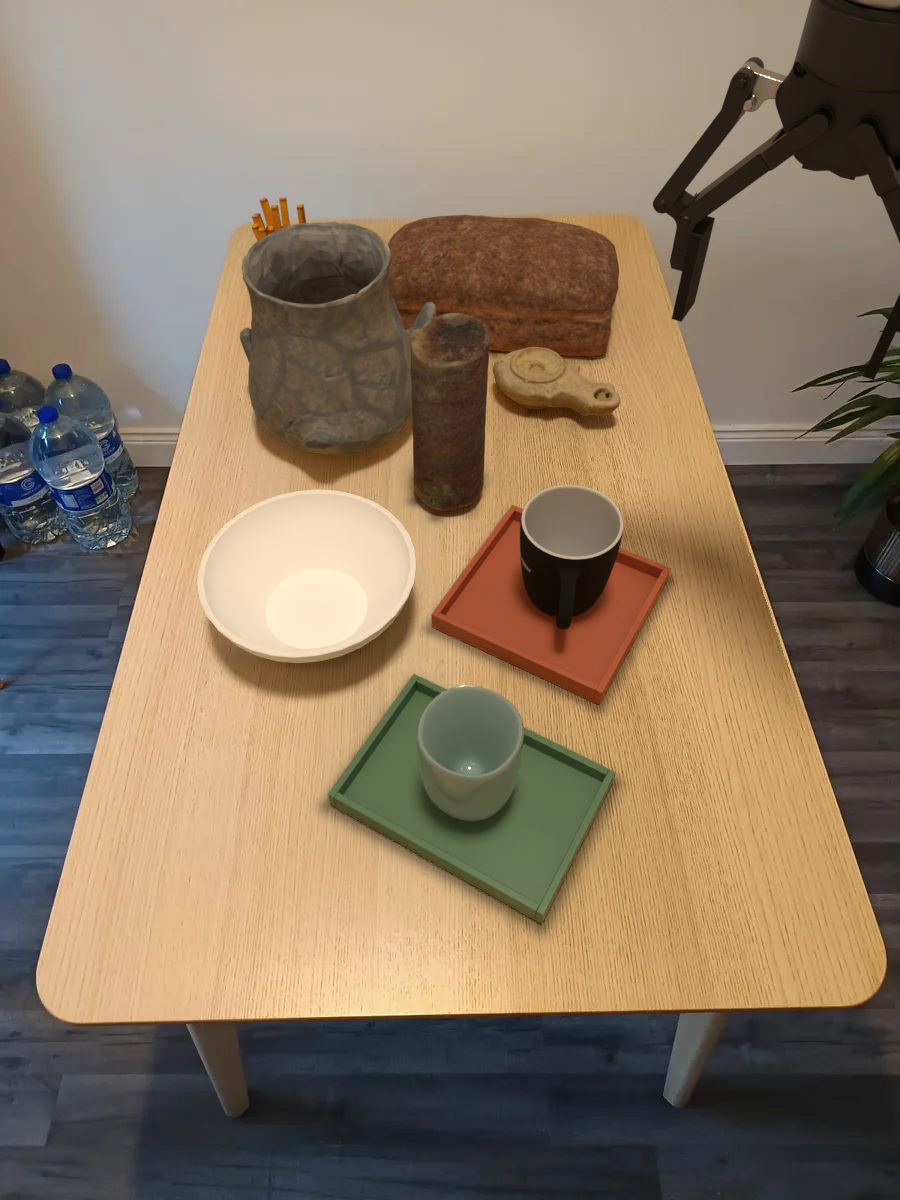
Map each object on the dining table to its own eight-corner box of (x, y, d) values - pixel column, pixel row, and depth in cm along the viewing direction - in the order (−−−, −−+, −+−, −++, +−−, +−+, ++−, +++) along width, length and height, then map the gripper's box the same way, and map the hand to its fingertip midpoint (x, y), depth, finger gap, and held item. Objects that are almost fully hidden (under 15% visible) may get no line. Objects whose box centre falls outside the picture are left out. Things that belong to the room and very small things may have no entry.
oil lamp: (617, 433, 98) (623, 398, 94) (490, 430, 98) (491, 395, 94) (610, 374, 104) (616, 339, 100) (492, 372, 105) (493, 337, 101)
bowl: (232, 536, 89) (217, 489, 83) (422, 535, 88) (419, 488, 83) (197, 700, 77) (177, 657, 71) (416, 699, 76) (412, 656, 71)
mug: (518, 553, 86) (523, 480, 78) (608, 560, 85) (623, 487, 77) (509, 652, 79) (515, 582, 71) (608, 660, 78) (625, 591, 70)
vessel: (223, 484, 93) (174, 324, 77) (266, 358, 107) (232, 200, 91) (422, 494, 92) (414, 333, 76) (440, 365, 105) (437, 206, 90)
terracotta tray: (667, 580, 84) (671, 567, 83) (599, 705, 76) (602, 693, 74) (511, 517, 90) (512, 504, 88) (431, 627, 81) (431, 614, 80)
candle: (497, 502, 91) (505, 341, 75) (438, 529, 89) (433, 369, 73) (459, 460, 95) (459, 299, 79) (401, 485, 93) (389, 324, 77)
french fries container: (268, 340, 109) (246, 235, 98) (275, 299, 115) (255, 195, 104) (324, 339, 109) (308, 234, 98) (328, 297, 115) (314, 194, 104)
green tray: (612, 783, 71) (615, 772, 70) (541, 924, 64) (543, 915, 63) (414, 685, 77) (413, 673, 76) (330, 804, 70) (327, 794, 69)
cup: (531, 768, 72) (540, 707, 64) (494, 851, 67) (498, 795, 59) (446, 733, 74) (445, 669, 66) (405, 811, 69) (398, 752, 61)
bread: (397, 272, 118) (391, 190, 109) (612, 287, 115) (625, 203, 106) (373, 347, 108) (365, 263, 99) (609, 365, 105) (623, 280, 96)
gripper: (637, -33, 46) (590, 315, 63) (1163, 56, 38) (949, 426, 55) (687, -72, 50) (631, 265, 67) (1173, 1, 42) (971, 362, 59)
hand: (774, 338), depth 61 cm, fingers open, 13 cm apart
